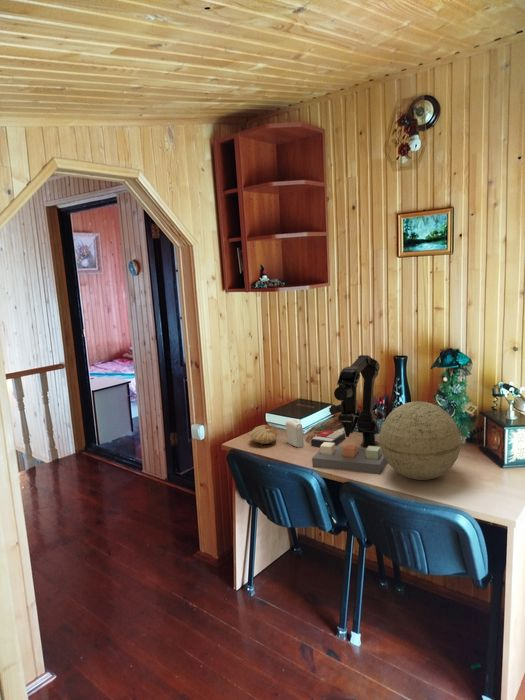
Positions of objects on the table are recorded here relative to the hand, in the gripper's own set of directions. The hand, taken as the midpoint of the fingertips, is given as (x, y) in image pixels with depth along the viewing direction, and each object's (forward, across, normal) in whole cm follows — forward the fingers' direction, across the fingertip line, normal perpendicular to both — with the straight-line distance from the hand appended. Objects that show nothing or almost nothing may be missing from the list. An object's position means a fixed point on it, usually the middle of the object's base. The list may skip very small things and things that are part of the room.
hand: (349, 434), depth 219 cm
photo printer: (+11, -21, -30) cm, 38 cm away
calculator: (+10, -26, -14) cm, 31 cm away
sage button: (+10, -1, +10) cm, 14 cm away
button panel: (+12, -2, 0) cm, 13 cm away
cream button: (+10, -3, -10) cm, 14 cm away
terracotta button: (+10, -2, 0) cm, 10 cm away
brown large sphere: (+13, +7, +29) cm, 33 cm away
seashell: (+11, -25, -45) cm, 52 cm away
